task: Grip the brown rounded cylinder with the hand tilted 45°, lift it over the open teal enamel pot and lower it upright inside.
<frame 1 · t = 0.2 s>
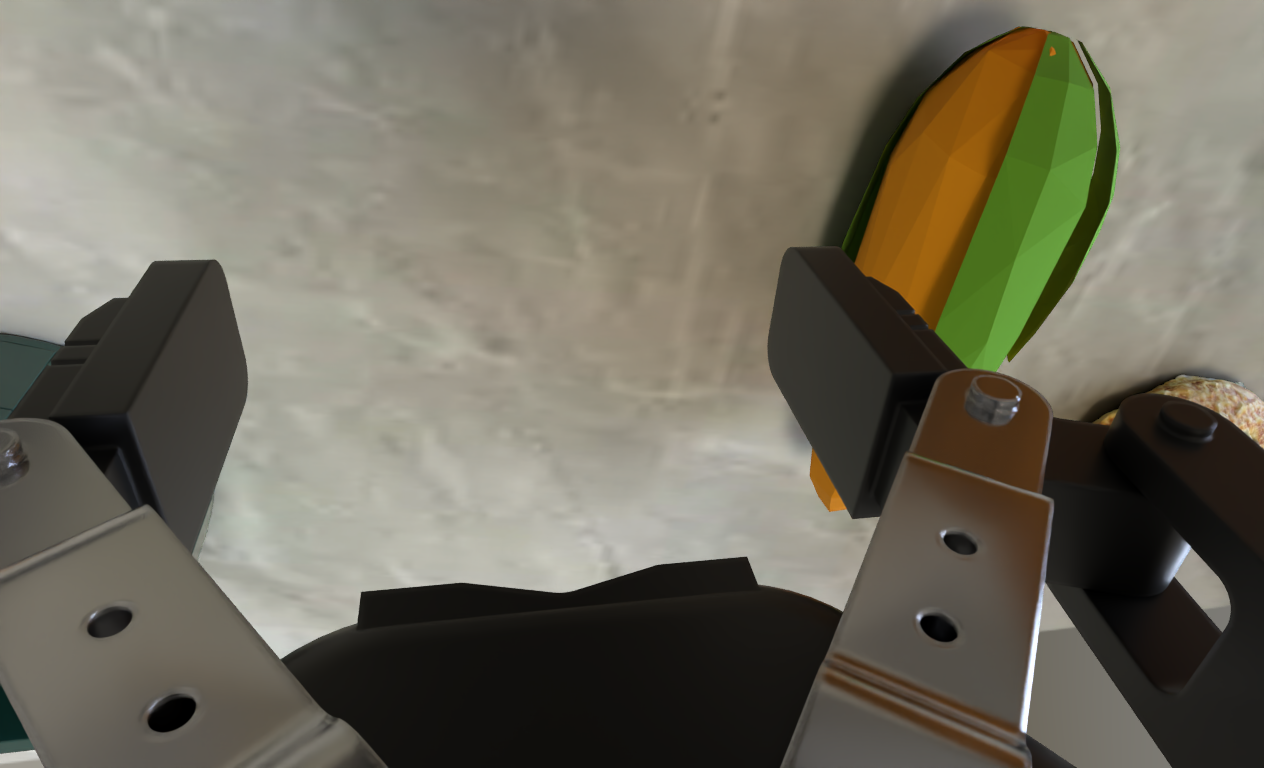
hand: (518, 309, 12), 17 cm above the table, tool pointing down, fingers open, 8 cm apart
corn: (891, 268, 34), on the table
pot: (26, 478, 32), on the table
bread roll: (1143, 449, 43), on the table
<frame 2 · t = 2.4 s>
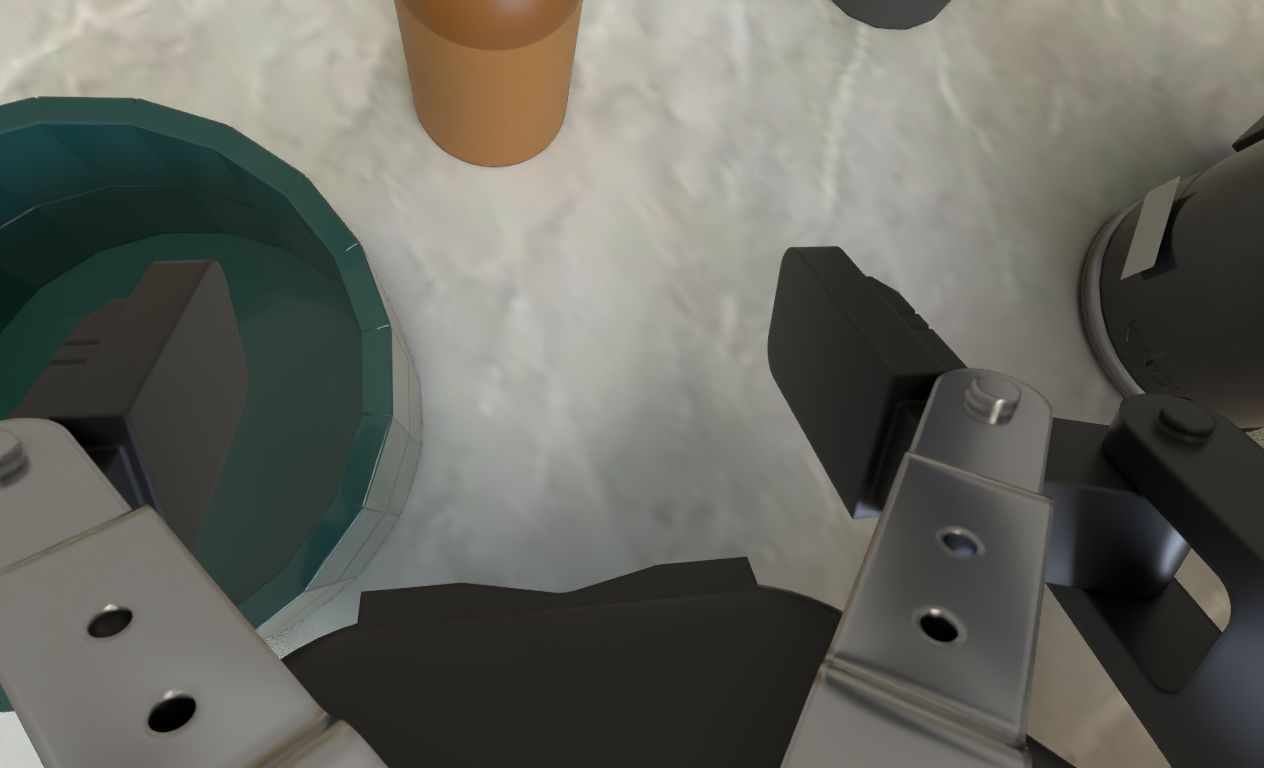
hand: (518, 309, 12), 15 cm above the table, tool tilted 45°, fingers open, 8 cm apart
brown rounded cylinder: (491, 96, 28), on the table
pot: (196, 426, 25), on the table
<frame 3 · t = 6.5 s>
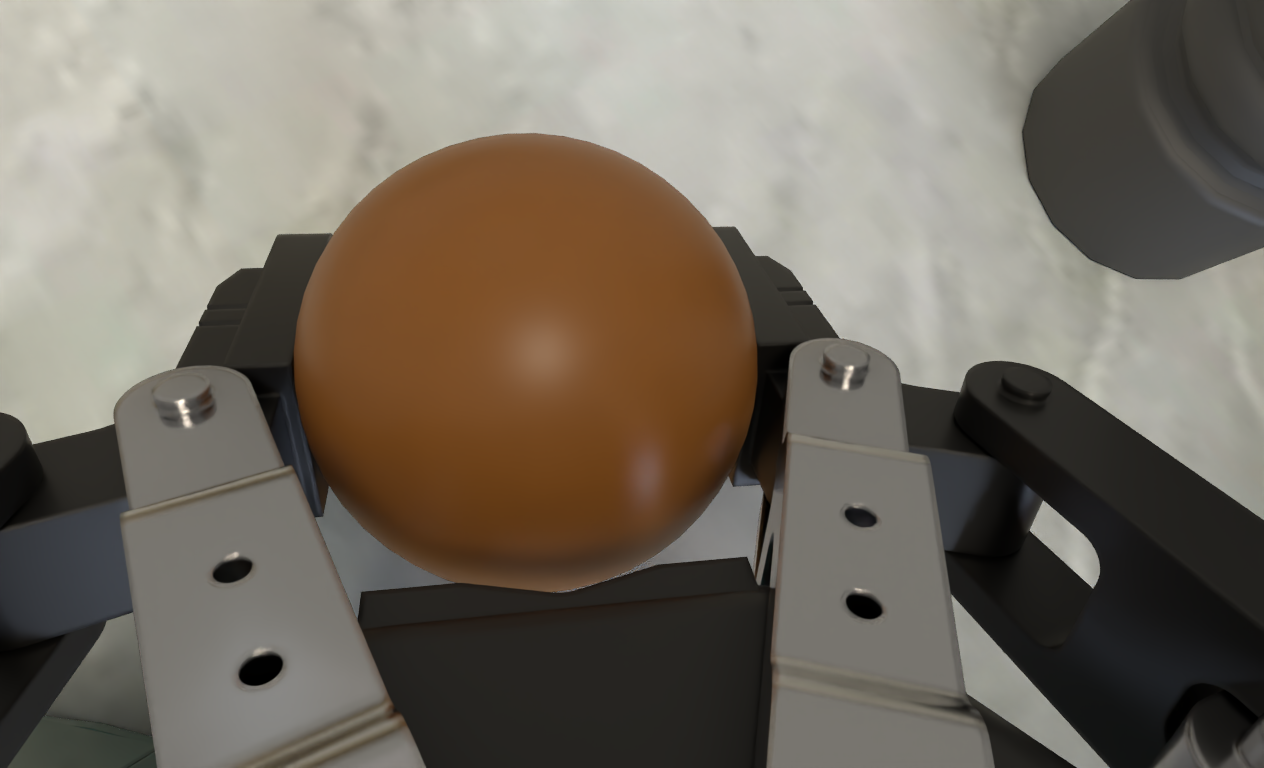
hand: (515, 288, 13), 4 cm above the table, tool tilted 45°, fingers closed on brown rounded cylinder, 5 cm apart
brown rounded cylinder: (516, 438, 16), on the table, touching gripper
candle holder: (1132, 162, 20), on the table
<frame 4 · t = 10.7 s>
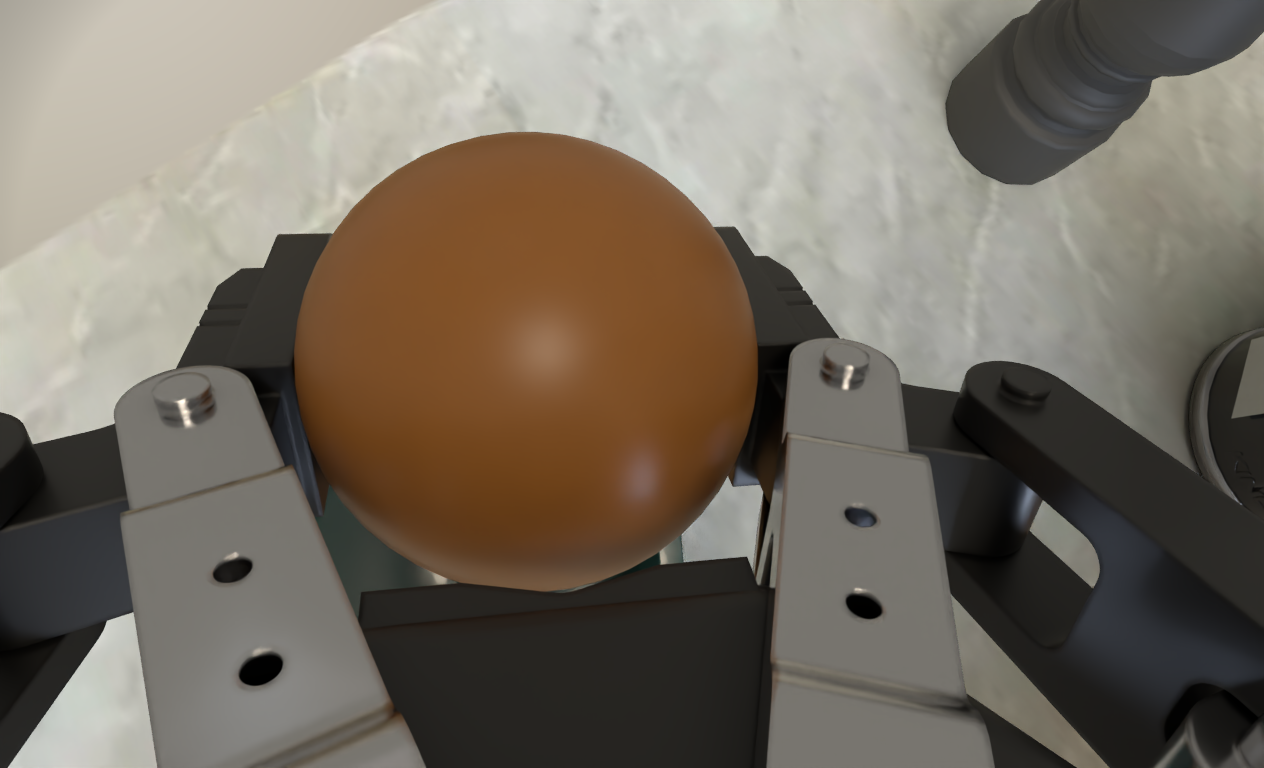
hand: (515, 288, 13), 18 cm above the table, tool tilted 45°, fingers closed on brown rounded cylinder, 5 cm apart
brown rounded cylinder: (516, 437, 16), point 14 cm above the table, touching gripper
candle holder: (1008, 121, 37), on the table
pot: (453, 556, 29), on the table
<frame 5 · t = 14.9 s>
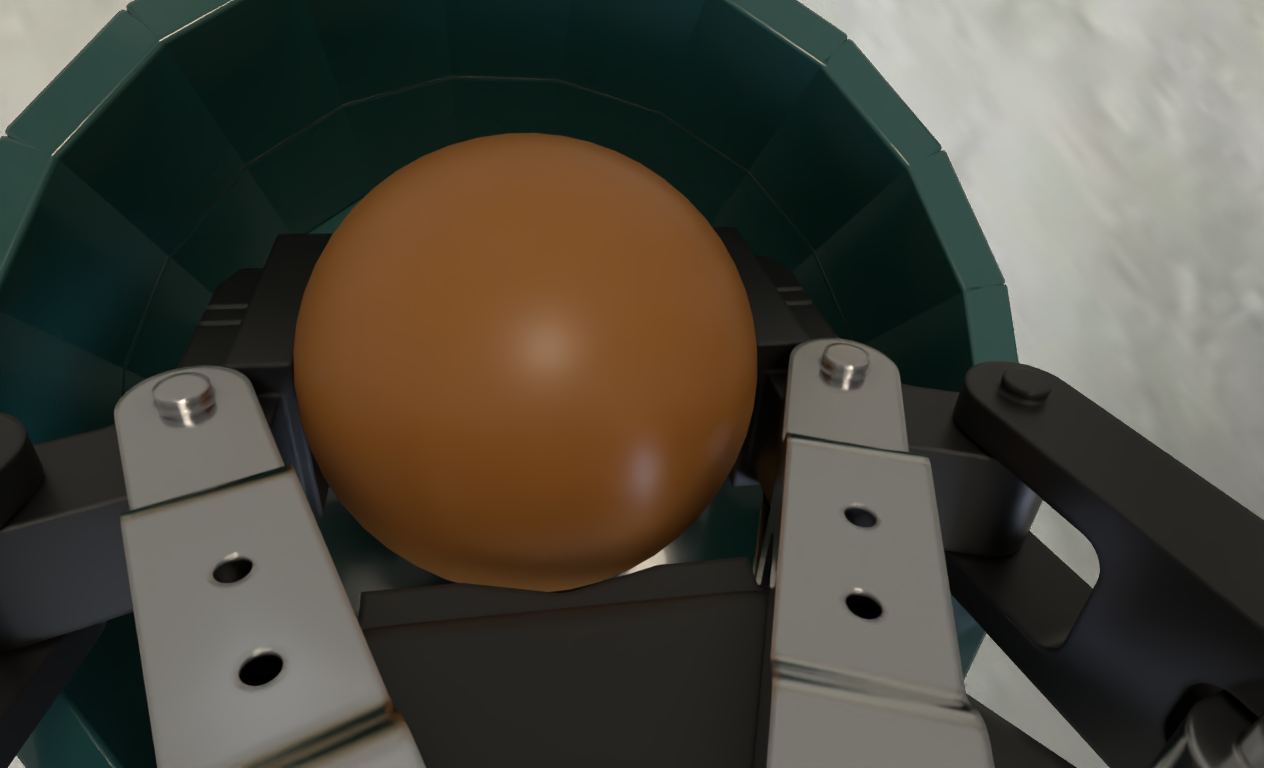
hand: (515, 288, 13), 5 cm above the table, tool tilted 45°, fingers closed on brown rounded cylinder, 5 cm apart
brown rounded cylinder: (516, 437, 16), point 1 cm above the table, touching gripper
pot: (513, 442, 17), on the table
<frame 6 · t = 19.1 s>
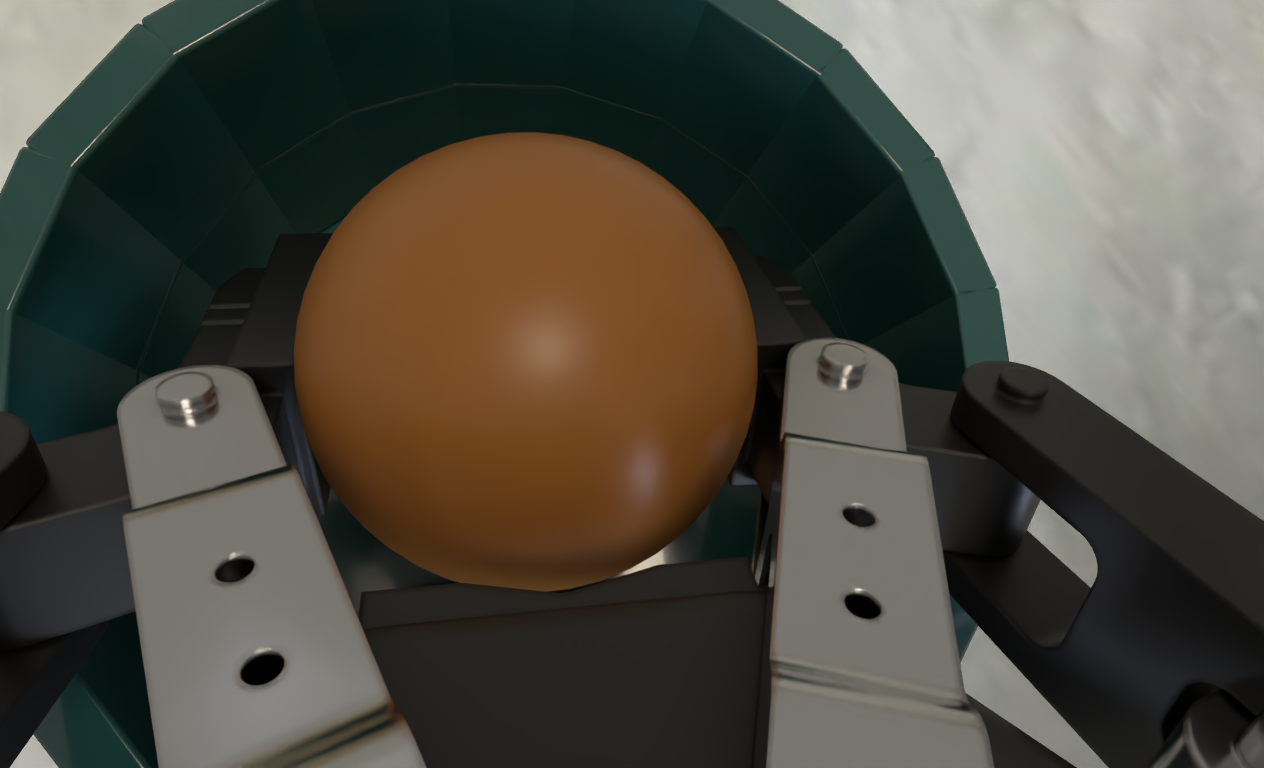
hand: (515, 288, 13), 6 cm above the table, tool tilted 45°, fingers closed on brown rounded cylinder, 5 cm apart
brown rounded cylinder: (516, 437, 16), point 1 cm above the table, touching gripper
pot: (517, 442, 18), on the table
when the fingers open (6 cm above the table, at t = 23.2 s): brown rounded cylinder drops 2 cm, resting on pot.
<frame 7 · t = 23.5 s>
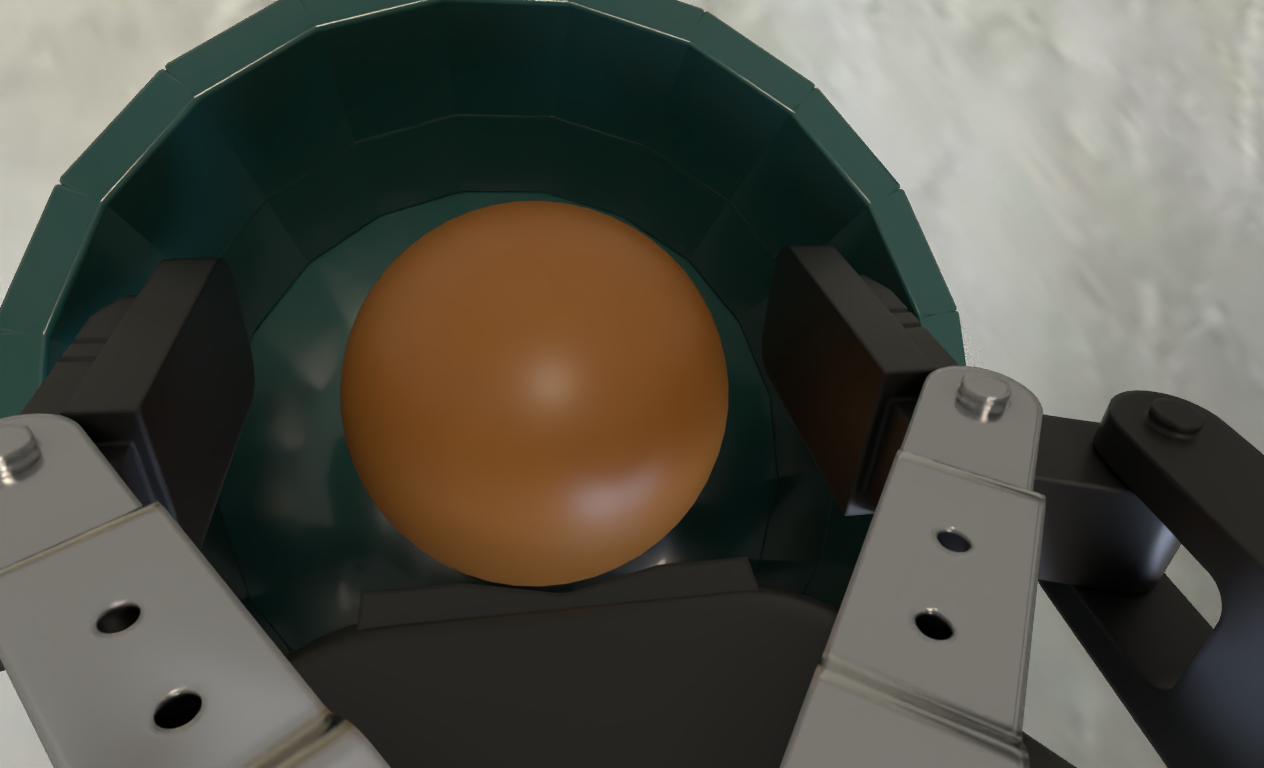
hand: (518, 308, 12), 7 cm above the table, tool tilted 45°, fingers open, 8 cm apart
brown rounded cylinder: (522, 448, 18), point 1 cm above the table, touching pot
pot: (512, 451, 19), on the table
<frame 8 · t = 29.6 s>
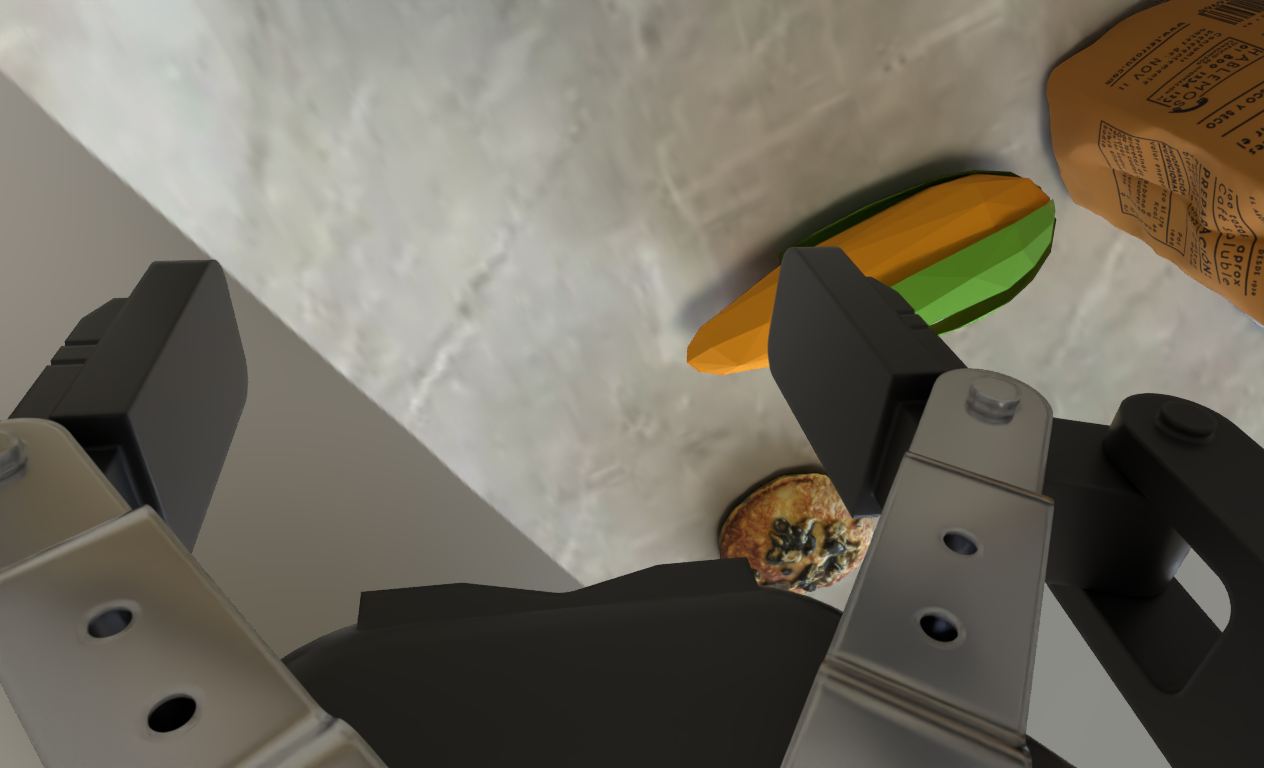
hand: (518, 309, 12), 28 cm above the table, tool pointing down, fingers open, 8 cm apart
corn: (839, 259, 46), on the table
bread roll: (791, 523, 57), on the table
coffee package: (1149, 87, 43), on the table
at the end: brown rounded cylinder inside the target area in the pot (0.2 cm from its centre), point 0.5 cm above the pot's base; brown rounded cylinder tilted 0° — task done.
